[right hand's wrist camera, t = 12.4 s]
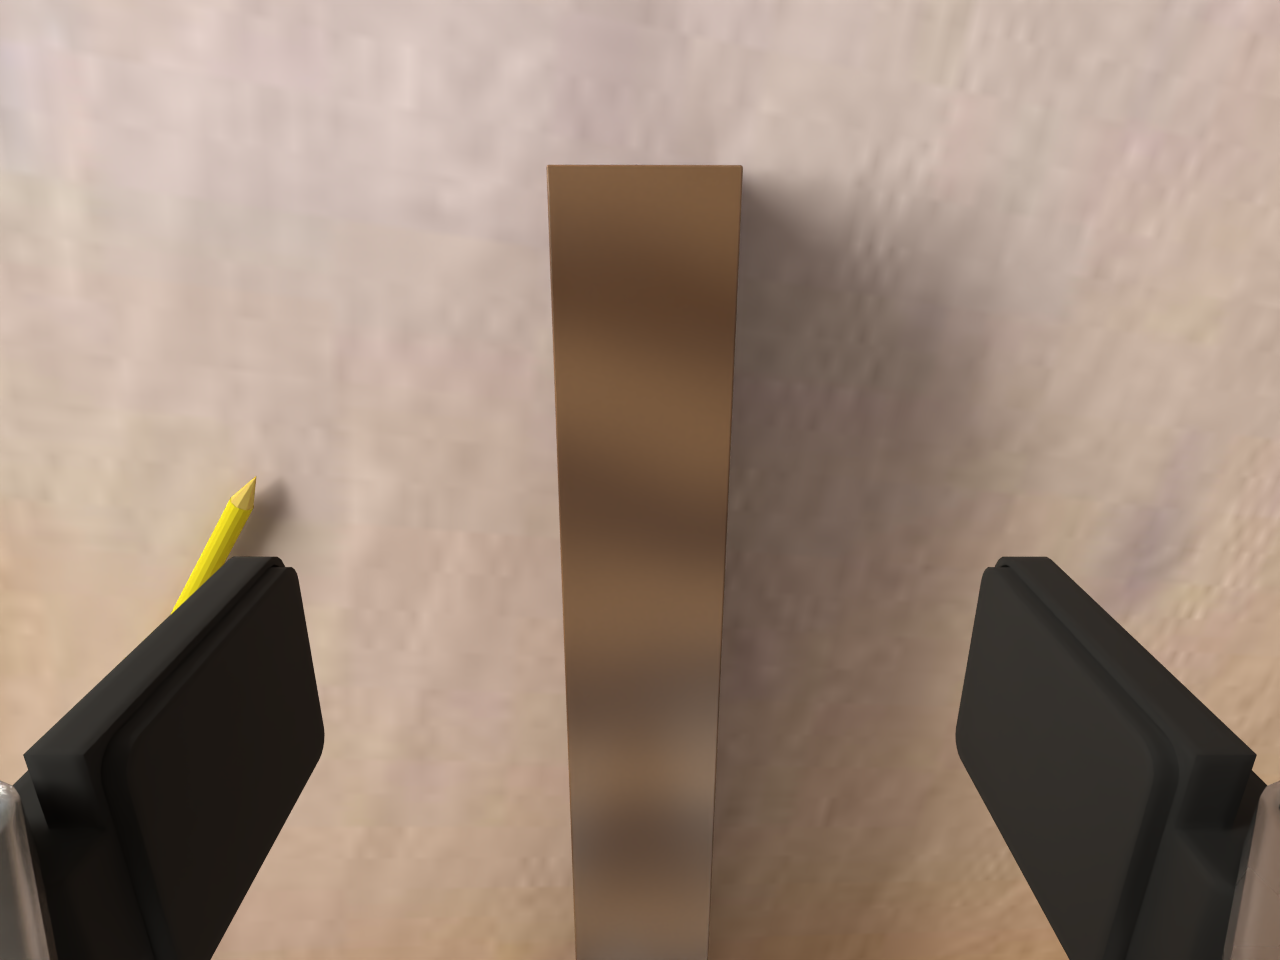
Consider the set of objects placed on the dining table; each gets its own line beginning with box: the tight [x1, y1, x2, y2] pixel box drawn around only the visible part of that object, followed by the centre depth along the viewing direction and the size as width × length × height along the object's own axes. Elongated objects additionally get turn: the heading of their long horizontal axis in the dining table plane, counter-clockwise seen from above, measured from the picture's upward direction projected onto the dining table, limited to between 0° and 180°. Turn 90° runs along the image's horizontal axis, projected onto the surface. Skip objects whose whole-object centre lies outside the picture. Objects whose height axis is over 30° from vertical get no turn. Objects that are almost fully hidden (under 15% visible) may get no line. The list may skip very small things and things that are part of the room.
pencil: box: [171, 477, 256, 614], centre depth 36 cm, size 16×1×1 cm, turn 147°
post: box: [547, 165, 743, 960], centre depth 39 cm, size 66×6×8 cm, turn 0°
